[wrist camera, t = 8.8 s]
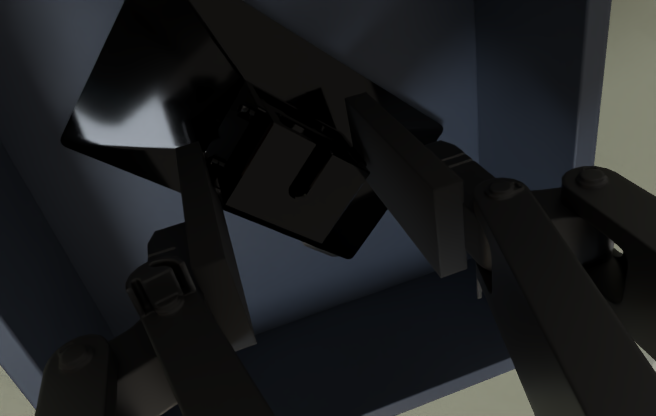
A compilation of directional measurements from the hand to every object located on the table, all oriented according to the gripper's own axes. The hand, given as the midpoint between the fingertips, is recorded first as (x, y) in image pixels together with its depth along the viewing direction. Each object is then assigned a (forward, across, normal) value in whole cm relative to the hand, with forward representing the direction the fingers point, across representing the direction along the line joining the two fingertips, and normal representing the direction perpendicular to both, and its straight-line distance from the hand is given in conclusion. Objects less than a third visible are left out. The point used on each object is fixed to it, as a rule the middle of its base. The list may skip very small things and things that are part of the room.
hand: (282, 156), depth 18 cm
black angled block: (+3, 0, 0) cm, 3 cm away
